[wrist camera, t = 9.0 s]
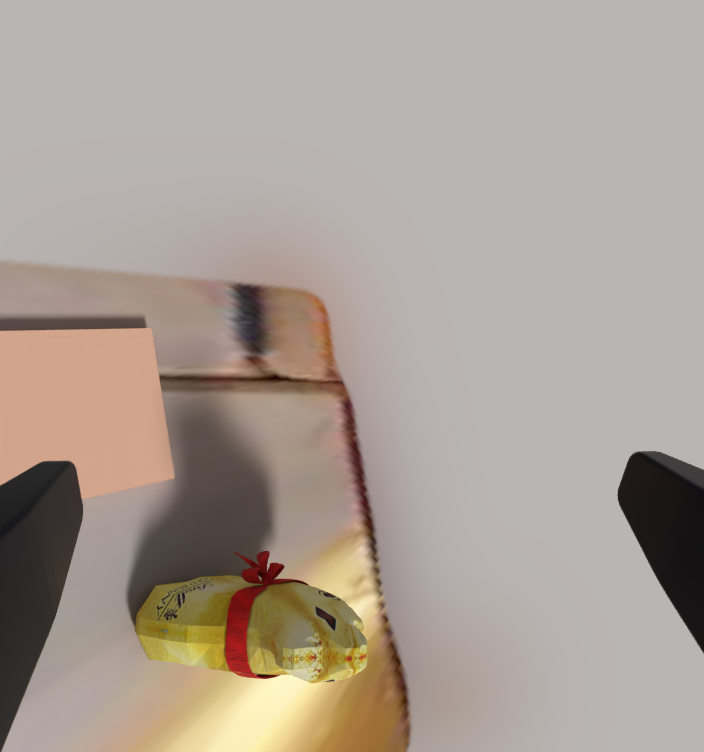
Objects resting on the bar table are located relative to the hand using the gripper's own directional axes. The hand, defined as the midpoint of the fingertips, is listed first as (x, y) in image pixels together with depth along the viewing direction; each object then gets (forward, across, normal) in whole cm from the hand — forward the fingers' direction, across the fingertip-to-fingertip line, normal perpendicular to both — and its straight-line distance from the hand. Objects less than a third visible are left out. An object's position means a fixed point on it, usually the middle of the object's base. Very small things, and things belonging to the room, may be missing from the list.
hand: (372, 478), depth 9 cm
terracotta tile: (+23, +13, +12) cm, 29 cm away
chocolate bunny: (+20, +6, +25) cm, 32 cm away
